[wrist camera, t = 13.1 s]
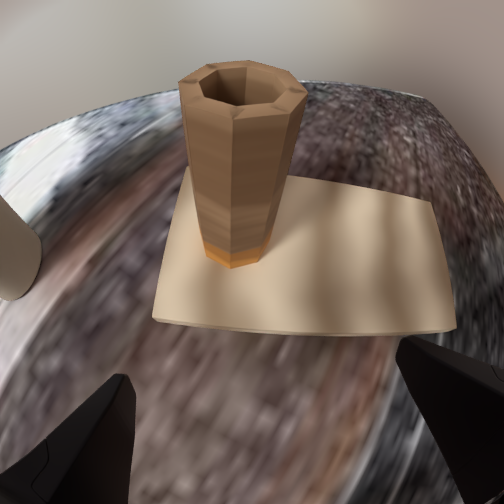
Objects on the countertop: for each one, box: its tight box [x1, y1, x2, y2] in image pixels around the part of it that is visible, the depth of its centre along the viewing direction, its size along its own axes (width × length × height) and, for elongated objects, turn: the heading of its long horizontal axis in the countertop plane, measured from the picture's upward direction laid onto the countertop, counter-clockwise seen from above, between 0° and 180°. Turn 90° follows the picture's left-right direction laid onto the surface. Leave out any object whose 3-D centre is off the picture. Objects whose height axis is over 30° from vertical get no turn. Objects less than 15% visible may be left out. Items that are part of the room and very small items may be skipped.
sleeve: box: [178, 60, 308, 269], centre depth 15 cm, size 5×5×13 cm
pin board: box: [152, 166, 457, 336], centre depth 21 cm, size 26×14×5 cm, turn 86°
